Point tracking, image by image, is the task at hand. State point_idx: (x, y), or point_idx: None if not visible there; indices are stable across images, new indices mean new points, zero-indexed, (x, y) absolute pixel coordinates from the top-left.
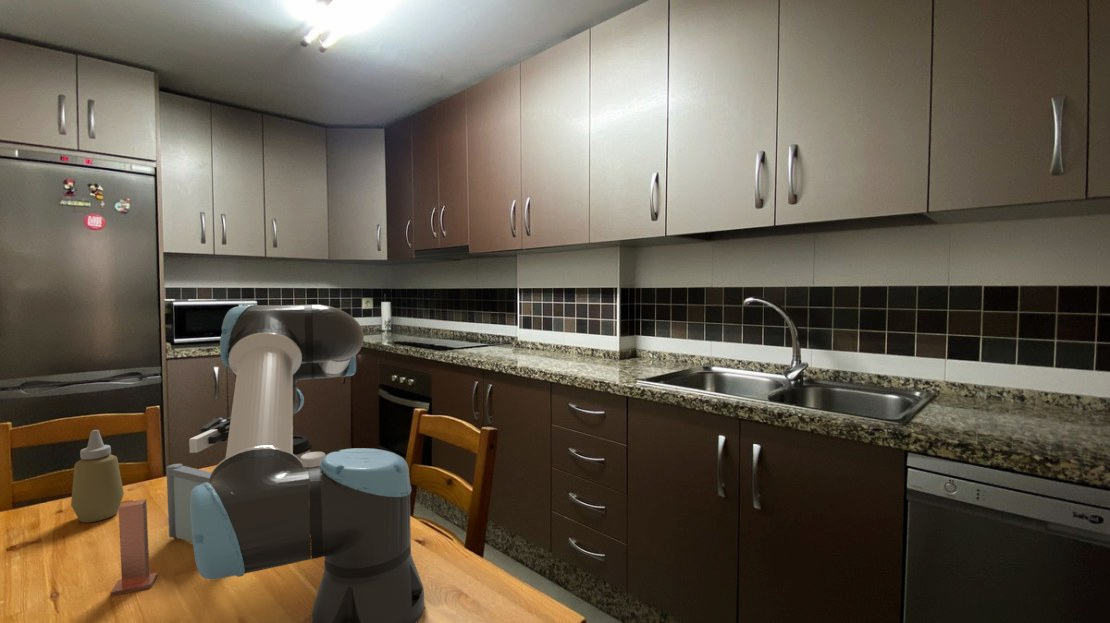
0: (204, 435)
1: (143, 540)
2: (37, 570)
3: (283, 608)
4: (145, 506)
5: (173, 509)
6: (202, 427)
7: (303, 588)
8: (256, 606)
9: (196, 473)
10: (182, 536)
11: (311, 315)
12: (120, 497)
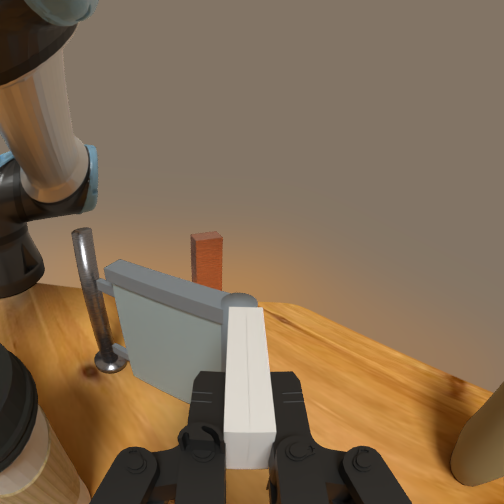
0: (229, 341)
1: (192, 281)
2: (362, 351)
3: (57, 289)
4: (194, 247)
5: None
6: (390, 474)
7: (41, 304)
8: (76, 293)
9: (156, 274)
10: None
11: None
12: (467, 464)
